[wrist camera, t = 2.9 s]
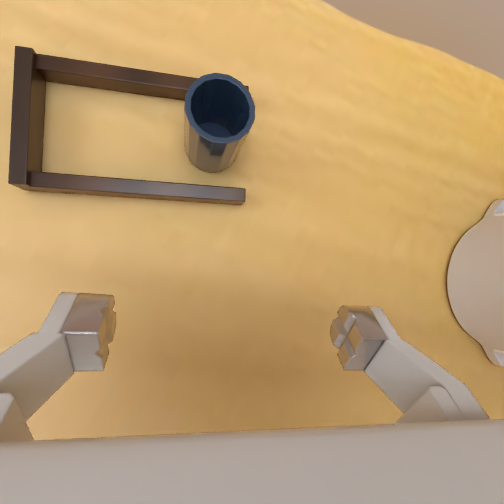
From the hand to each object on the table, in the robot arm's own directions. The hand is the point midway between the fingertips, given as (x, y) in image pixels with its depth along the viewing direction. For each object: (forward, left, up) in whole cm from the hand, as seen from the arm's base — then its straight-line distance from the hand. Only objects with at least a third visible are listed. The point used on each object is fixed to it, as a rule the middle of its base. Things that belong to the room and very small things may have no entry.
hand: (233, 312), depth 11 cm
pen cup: (0, -12, -17) cm, 21 cm away
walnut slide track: (+6, -12, -17) cm, 22 cm away
